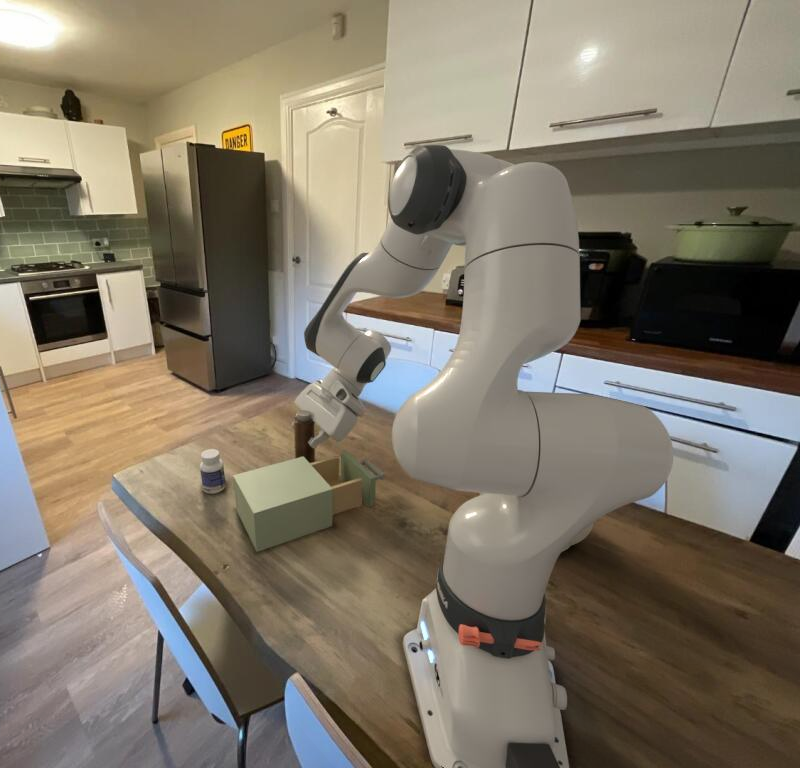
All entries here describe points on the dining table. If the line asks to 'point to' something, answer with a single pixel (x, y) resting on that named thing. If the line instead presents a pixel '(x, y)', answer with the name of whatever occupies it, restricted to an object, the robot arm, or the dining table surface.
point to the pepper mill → (304, 435)
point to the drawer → (349, 481)
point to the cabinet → (282, 502)
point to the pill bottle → (212, 471)
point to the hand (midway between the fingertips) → (302, 436)
